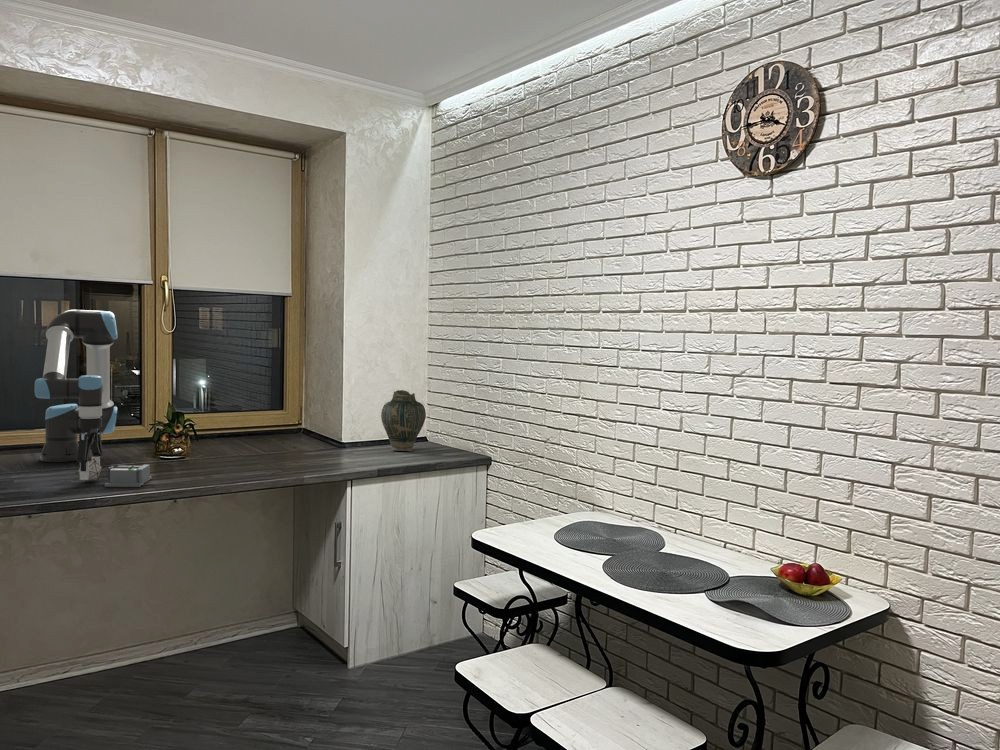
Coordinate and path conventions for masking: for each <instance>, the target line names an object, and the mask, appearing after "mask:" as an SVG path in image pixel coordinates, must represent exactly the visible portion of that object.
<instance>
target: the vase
mask: <svg viewBox="0 0 1000 750" xmlns="http://www.w3.org/2000/svg"><path fill="white" fill-rule="evenodd" d="M415 395H416V394H415V393H410V392H409V391H407V390H403V389H402V390H399V389H397V390H396V391H393V394H392V397H391V398H392V399H390V401H388V402H386V403H384V405H383V407H382V408H381V409H382V410H381V413H380V414H381V415H380V419H381V423H382V426H383V429H384V431H385V433H386V435H387V438H388V440H389V443H390V446H391V450H392V451H393V452H395V451H397V452H413V451H414V448H413V447H414V446H415V442H416V440H417V437H418V436H419V434H420V432H421V431H422V430H423V429H422V428H423V427H424V424H425V420H426V417H427V412H426V408H425V405H423V403H422V402H419V401H418V400H417V399H416V396H415Z"/></svg>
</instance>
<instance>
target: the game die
mask: <svg viewBox="0 0 1000 750" xmlns="http://www.w3.org/2000/svg"><path fill="white" fill-rule="evenodd" d="M87 462H89V480H85V483H87V481H91V480H98V481H100V478H99V476H100V474H101V472H102V470H103V469H104V468H105V466H102V465H101V464H100V465H99V464H98V463H97V462H96V460H95V461H94V459H93V460H92V459H91V460H88V461H87ZM74 474H75V475H79V476H80V467H79V468H78V471H77V472H75V473H74Z"/></svg>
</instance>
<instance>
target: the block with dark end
mask: <svg viewBox="0 0 1000 750" xmlns="http://www.w3.org/2000/svg"><path fill="white" fill-rule="evenodd" d="M129 466H130V467H129V468H128V469H134V466H135V465H129ZM110 469H117V466H116V465H110V466H109V467H107V481H110Z"/></svg>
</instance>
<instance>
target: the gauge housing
mask: <svg viewBox="0 0 1000 750" xmlns="http://www.w3.org/2000/svg"><path fill="white" fill-rule="evenodd" d="M130 466H131V465H117V466H116V469H110V480H108V481H107V482H105V483H104V487H105V488H107V487H108V488H109V487H113V488H116V487H117V488H119V487H120V488H121V487H122V488H133V487H134V488H138V487H139V488H140V487H141V485H142V486H143V485H145V484H146V483H148V482H149V481H150V479H151V480H152V478H153V477H152V475H150V474H151V464H143V465H133V466H134V469H128V468H129V467H130ZM147 481H148V482H147ZM145 482H146V483H145ZM144 483H145V484H144Z"/></svg>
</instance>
